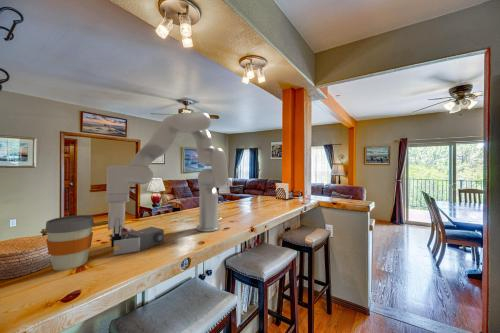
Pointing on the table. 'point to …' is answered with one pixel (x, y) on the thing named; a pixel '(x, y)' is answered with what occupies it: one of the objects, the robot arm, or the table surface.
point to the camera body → (148, 237)
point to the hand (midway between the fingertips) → (116, 246)
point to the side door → (126, 245)
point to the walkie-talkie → (126, 232)
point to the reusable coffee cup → (69, 240)
